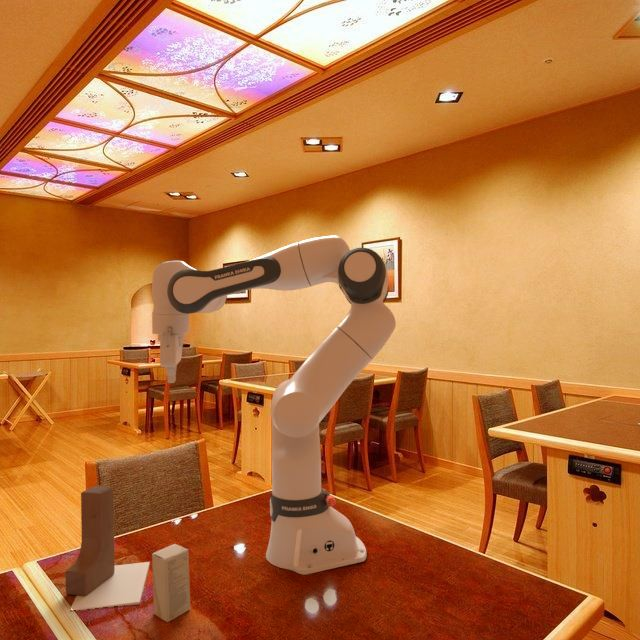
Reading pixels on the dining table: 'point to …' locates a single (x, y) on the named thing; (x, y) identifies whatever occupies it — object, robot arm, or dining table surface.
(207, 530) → the dining table surface
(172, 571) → the box
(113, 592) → the mat
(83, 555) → the wooden block
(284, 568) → the robot arm
